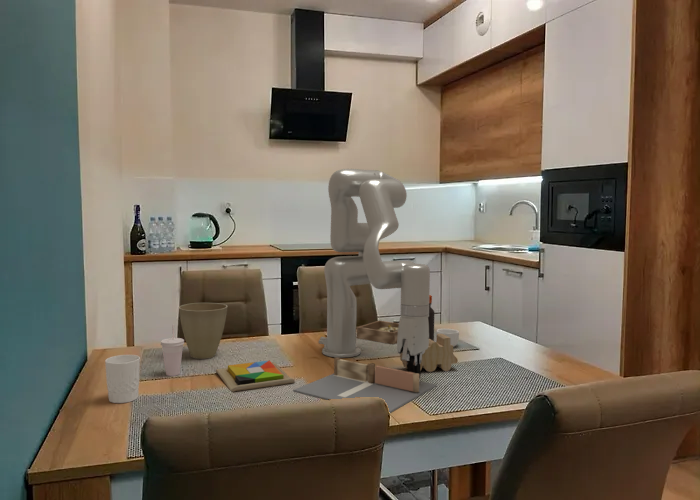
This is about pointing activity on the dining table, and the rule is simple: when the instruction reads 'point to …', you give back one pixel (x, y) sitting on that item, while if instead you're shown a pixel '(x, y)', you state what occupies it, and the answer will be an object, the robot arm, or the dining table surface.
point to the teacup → (450, 335)
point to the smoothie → (172, 354)
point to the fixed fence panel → (354, 370)
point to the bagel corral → (378, 332)
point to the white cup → (122, 378)
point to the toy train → (437, 355)
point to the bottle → (431, 320)
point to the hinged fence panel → (397, 378)
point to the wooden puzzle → (253, 375)
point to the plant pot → (203, 327)
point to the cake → (389, 329)
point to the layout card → (361, 390)
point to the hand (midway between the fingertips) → (413, 378)
